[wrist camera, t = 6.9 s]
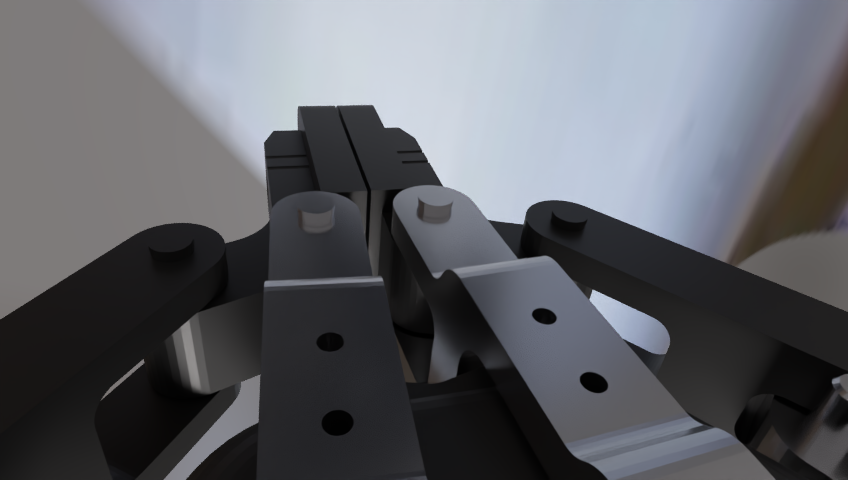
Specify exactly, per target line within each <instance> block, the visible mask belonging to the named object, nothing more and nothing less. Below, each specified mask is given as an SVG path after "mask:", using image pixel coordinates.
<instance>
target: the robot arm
mask: <svg viewBox="0 0 848 480" xmlns="http://www.w3.org/2000/svg"><path fill="white" fill-rule="evenodd" d="M264 149H265V165H266V180H267V195H268V211H269V219H270V220H269V222H268V223H267V224H266V225H265V226H264V227H263V228H262V229H261V230H259V231H258V232H256V233H254V234H252V235H250V236H248V237H246V238H243V239H240V240H236V241H233V242H229V243H225V242H224V239H223V238H222V236H221V235H220V234H219V233H217V232H216V231H214V230H213V229H211V228H208V227H206V226H202V225H198V224H191V223H174V224H165V225H160V226H156V227H153V228H149V229H147V230H144V231H142V232H140V233H138V234H136V235H134V236H132V237H131V238H129V239H127V240H126V241H124V242H123V243H121V244H120V245H118V246H116V247H115V248H113V249H112V250H110V251H108V252H107V253H105V254H104V255H102V256H100V257H99V258H97V259H96V260H94V261H93V262H91V263H89V264H88V265H86V266H85V267H83V268H81V269H80V270H78V271H77V272H75V273H74V274H72V275H70V276H69V277H67V278H66V279H64V280H63V281H61V282H59V283H58V284H56V285H55V286H53V287H51V288H50V289H48V290H46V291H45V292H43V293H42V294H40V295H39V296H37V297H35V298H34V299H32V300H31V301H29V302H28V303H26V304H24V305H23V306H21V307H20V308H18V309H16V310H15V311H13V312H12V313H10V314H8V315H7V316H5V317H4V318H2V319H0V480H163V479H164V478H165V477H166V476H167V475H168V474H169V473H170V472H171V471H172V470H173V468H174V467H175V466H176V465H177V464H178V463H179V462H180V461H181V460H182V459H183V457H184V456H185V455H186V454H187V453H188V452H189V451H190V450H191V449H192V447H193V446H194V445H195V444H196V443H197V442H198V441H199V440H200V439H201V437H202V436H203V435H204V434H205V433H206V432H207V431H208V430H209V429H210V428H211V427H212V425H213V424H214V423H215V422H216V421H217V420H218V419H219V418H220V417H221V415H222V414H223V413H224V412H225V411H226V410H227V409H228V408H229V406H231V404H232V403H233V402H234V400H235V399H236V398H237V396H238V394H239V392H240V388H241V382H242V381H245V380H247V379H250V378H252V377H255V376H257V375H260V374H261V376H260V401H259V423H257V424H255V425H253V426H251V427H249V428H247V429H245V430H243V431H242V432H241V433H239V434H237V435H235V436H234V437H232V438H231V439H229V440H228V441H226V442H225V443H224V444H223V445H221V446H220V447H219V448H217V449H216V450H215V451H214V452H213V453H211V454H210V455H209V456H208V457H207V458H206V459H205V460H204V461H203V462H202V463H201V464H200V465H199V466H198V467H197V468H196V469H195V470H194V471H193V472H192V473H191V474H190V476H189V477H188V478H187V479H186V480H848V312H846V311H844V310H842V309H839V308H836V307H834V306H832V305H829V304H827V303H824V302H822V301H819V300H817V299H814V298H812V297H809V296H807V295H804V294H801V293H799V292H797V291H794V290H791V289H789V288H787V287H784V286H781V285H779V284H777V283H774V282H772V281H769V280H767V279H764V278H762V277H759V276H757V275H754V274H752V273H749V272H747V271H744V270H742V269H739V268H737V267H734V266H732V265H729V264H727V263H725V262H722V261H720V260H717V259H715V258H712V257H710V256H707V255H705V254H702V253H700V252H697V251H695V250H692V249H690V248H687V247H685V246H682V245H680V244H677V243H675V242H672V241H670V240H667V239H665V238H662V237H660V236H657V235H655V234H652V233H650V232H647V231H645V230H642V229H640V228H637V227H635V226H632V225H630V224H627V223H625V222H622V221H620V220H617V219H615V218H612V217H610V216H608V215H605V214H603V213H600V212H598V211H595V210H593V209H590V208H588V207H585V206H582V205H579V204H576V203H572V202H567V201H558V200H550V201H543V202H539V203H536V204H534V205H532V206H531V207H530V208H529V209H528V210H527V212H526V216H525V221H524V225H522V224H514V223H505V222H497V221H491V220H487V219H486V217H485V216H484V215H483V214H482V212H481V211H480V210H479V209H478V207H477V206H476V205H475V203H474V202H473V201H472V200H471V199H470V198H469V197H467V196H466V195H465V194H463V193H461V192H459V191H456V190H454V189H450V188H447V187H443V185H442V184H441V182H440V180H439V179H438V177H437V175H436V173H435V172H434V170H433V168H432V167H431V165H430V163H428V160H427V158H426V156H425V155H424V153H422V150H421V148H420V146H419V144H418V143H417V141H416V139H415V138H414V137H412V136H411V135H409V134H408V133H406V132H405V131H403V130H402V129H400V128H384V126H383V124H382V122H381V120H380V118H379V116H378V114H377V112H376V110H375V108H374V106H373V105H350V106H337V107H335V106H299V107H298V130H293V131H273V132H272V134H271V135H270V136H269V137H268V139H267V140H266V141H265V142H264ZM592 290H596V291H598V292H600V293H602V294H604V295H606V296H608V297H611V298H613V299H615V300H617V301H619V302H621V303H623V304H626V305H628V306H630V307H632V308H634V309H636V310H638V311H641V312H643V313H645V314H647V315H649V316H651V317H653V318H655V319H657V320H658V321H660V322H661V323H662V324H663V325H664V326H665V328H666V329H667V331H668V333H669V336H670V346H669V348H668V351H667V353H666V354H663V355H659V354H654V353H651V352H648V351H646V350H644V349H642V348H640V347H638V346H636V345H634V344H632V343H630V342H628V341H626V340H624V339H622V338H621V336H620V335H619V334H618V333H617V332H616V331H615V329H614V328H613V327H612V326H611V325H610V324H609V322H608V321H607V320H606V319H605V318H604V317H603V315H602V314H601V313H600V312H599V311H598V310H597V309H596V307H595V306H594V305H593V304H592V303H591V302H590V300H589V299H590V296H591V293H592ZM143 359H144V362H145V363H144V364H143V365H142V366H141V367H140V368H138V369H137V370H136V371H135V372H134V373H132V374H131V375H130V376H129V377H128V378H127V379H126V380H124V381H123V382H122V383H121V384H120V385H119V386H117V387H116V388H115V389H114V390H113V391H112V392H111V393H109V394H108V395H107V396H106V397H105V398H103V399H102V397H103V396H104V395H105V393H106V392H107V391H108V390H109V388H110V387H111V386H112V385H113V384H115V383H116V382H117V381H118V380H119V379H120V378H121V377H123V376H124V375H125V374H126V373H127V372H129V371H130V370H131V369H132V368H133V367H134V366H136V365H137V364H138V363H139V362H140V361H141V360H143ZM101 399H102V400H101Z"/></svg>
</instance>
